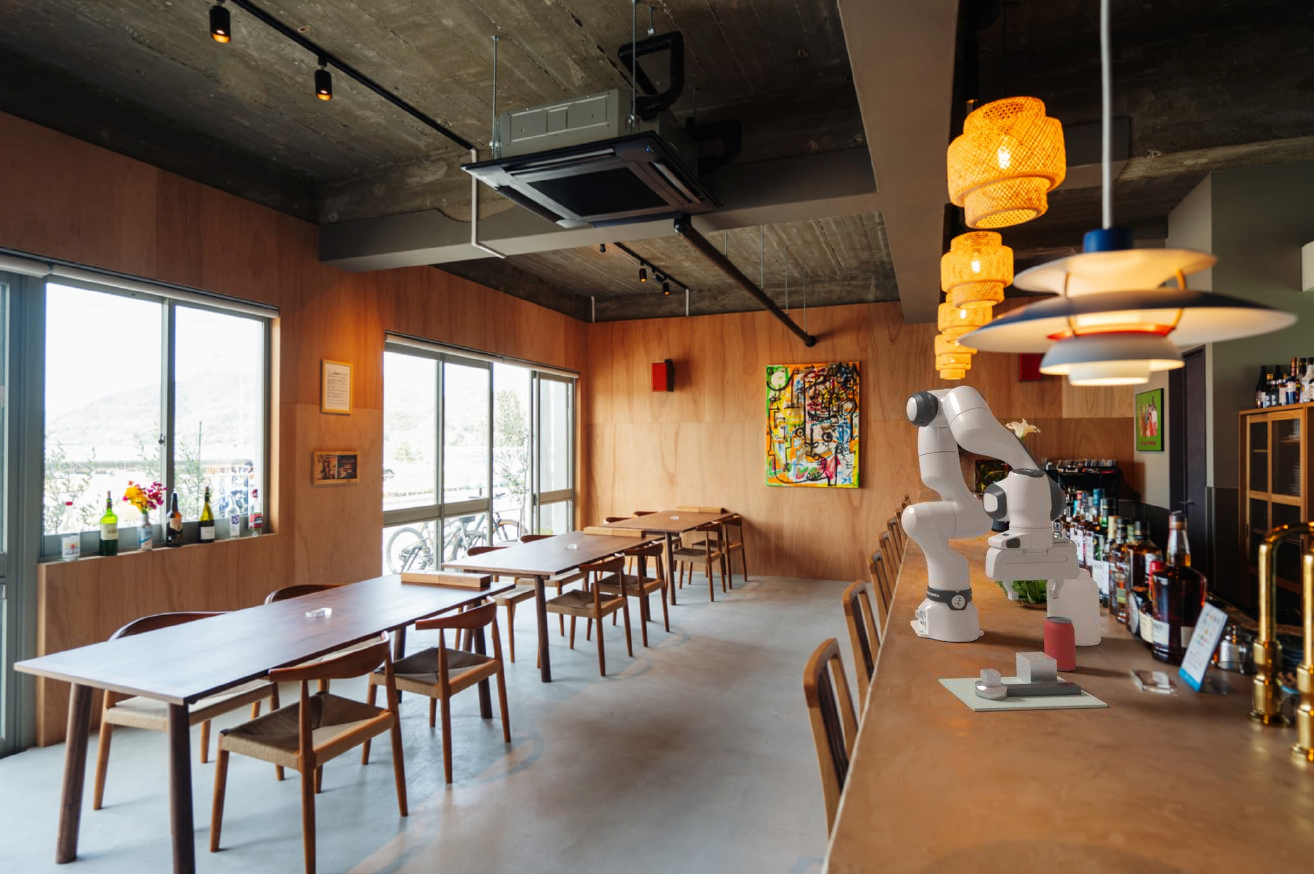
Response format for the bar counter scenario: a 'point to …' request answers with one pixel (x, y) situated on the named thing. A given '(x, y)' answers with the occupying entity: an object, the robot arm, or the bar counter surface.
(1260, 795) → the bar counter surface
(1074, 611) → the white plastic canister
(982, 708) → the mat
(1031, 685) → the lever
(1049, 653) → the beer can
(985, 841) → the bar counter surface
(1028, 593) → the potted flower
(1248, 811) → the bar counter surface
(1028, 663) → the grey box
